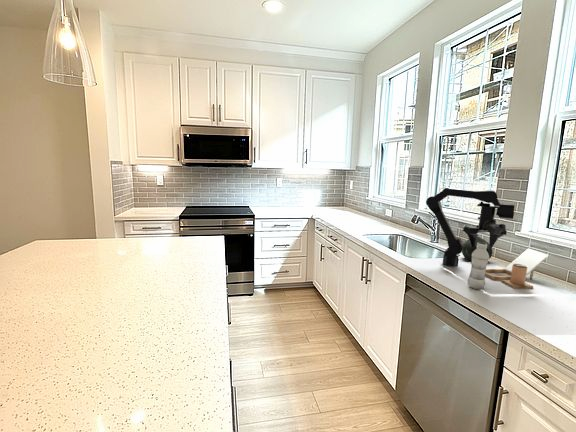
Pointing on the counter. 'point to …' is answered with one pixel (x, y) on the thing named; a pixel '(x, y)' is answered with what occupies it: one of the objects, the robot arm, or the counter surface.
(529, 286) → the stand
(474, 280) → the plastic bottle
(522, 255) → the propped lid
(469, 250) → the squash
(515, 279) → the pot
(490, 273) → the wooden tray
